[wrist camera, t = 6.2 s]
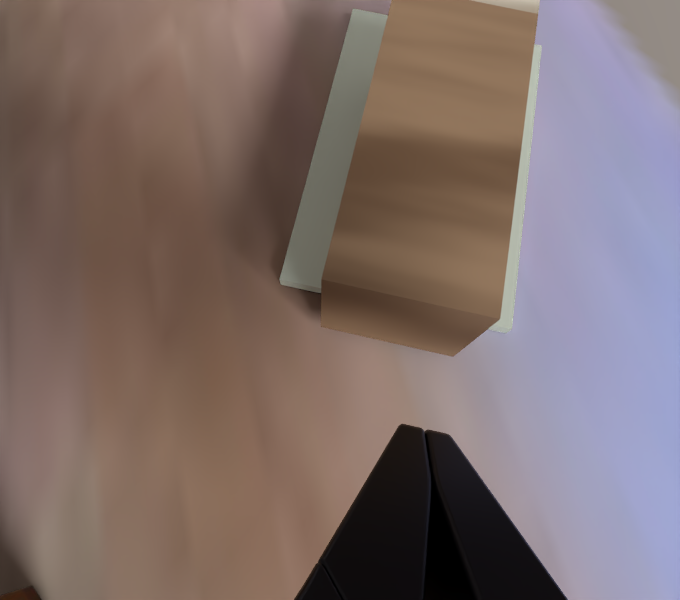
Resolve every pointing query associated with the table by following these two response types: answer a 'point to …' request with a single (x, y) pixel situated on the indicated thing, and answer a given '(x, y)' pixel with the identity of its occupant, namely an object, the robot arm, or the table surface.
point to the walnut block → (433, 176)
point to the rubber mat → (336, 157)
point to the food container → (21, 594)
